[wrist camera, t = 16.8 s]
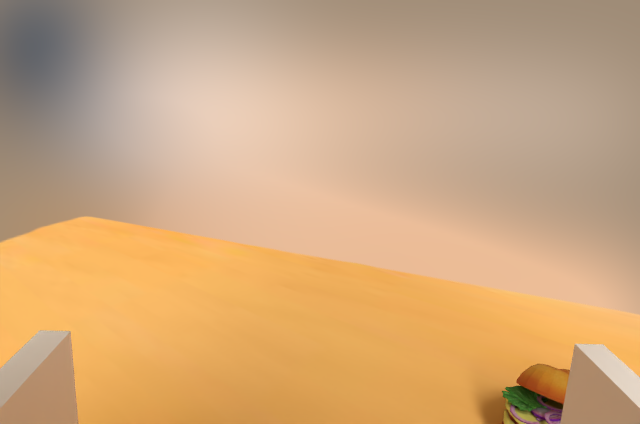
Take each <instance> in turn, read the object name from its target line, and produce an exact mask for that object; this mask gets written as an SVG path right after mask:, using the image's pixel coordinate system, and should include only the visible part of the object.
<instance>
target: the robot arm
mask: <svg viewBox="0 0 640 424" xmlns="http://www.w3.org/2000/svg"><path fill="white" fill-rule="evenodd" d="M0 424H78V415H77V403H76V391H75V379H74V368H73V356H72V344H71V332H70V331H39V332H38V333H37V334H36V335H35V336H34V337H32V338H31V339H30V340H29V341H28V342H27V343H26V344H25V345H24V346H23V347H22V348H21V349H20V350H19V351H18V352H17V353H16V354H15V355H14V356H13V357H12V358H11V359H10V360H9V361H8V362H7V363H6V364H5V365H4V366H3V367H2V368H0ZM560 424H640V377H639V376H637V375H636V374H635V373H634V372H633V371H632V370H631V369H630V368H629V367H627V366H626V365H625V364H624V363H623V362H622V361H621V360H620V359H619V358H617V357H616V356H615V355H614V354H613V353H612V352H611V351H610V350H609V349H607V348H606V347H605V346H604V345H597V344H575V346H574V352H573V357H572V363H571V368H570V373H569V379H568V384H567V389H566V395H565V400H564V405H563V411H562V416H561V422H560Z"/></svg>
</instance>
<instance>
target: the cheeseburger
mask: <svg viewBox="0 0 640 424" xmlns="http://www.w3.org/2000/svg"><path fill="white" fill-rule="evenodd" d="M569 373H570V370H566V369H557V368H554V367H551V366H549V365H544V364H536V365H533V366H531V367H529V368H528V369H527V370H525V371H524V372H523V373H522V374H521V375H520V377H519V378H518V379H517V383H518V384H519V385H521V386H514V387H506V388H505V389H506V390H507V391H509V392H506V391H502V392H503V397H504V398H505V400H506V404H505V407H506V409H505V411H504V419H503V422H502V424H560V422H561V416H562V411H563V405H564V400H565V395H566V389H567V384H568V379H569Z"/></svg>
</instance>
